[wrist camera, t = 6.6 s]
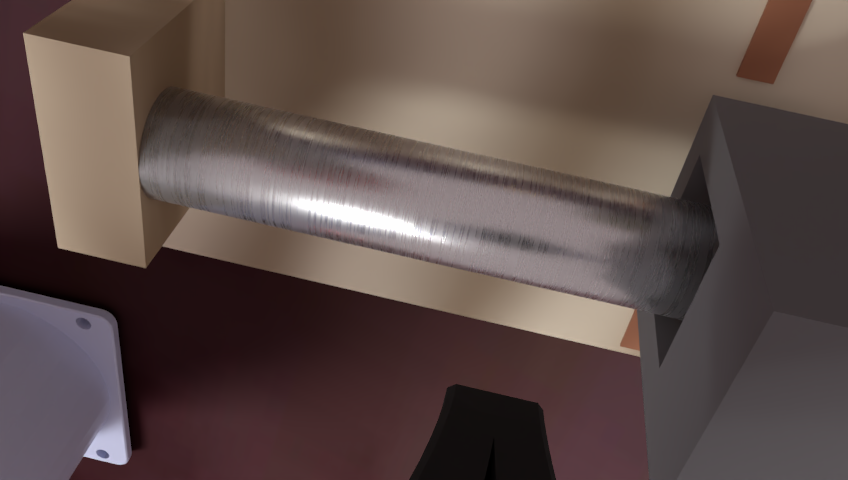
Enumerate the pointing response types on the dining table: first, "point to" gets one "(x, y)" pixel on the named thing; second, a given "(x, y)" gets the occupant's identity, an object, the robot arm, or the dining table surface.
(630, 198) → the pipe
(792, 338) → the collar
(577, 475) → the dining table surface
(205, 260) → the dining table surface
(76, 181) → the pipe stand
